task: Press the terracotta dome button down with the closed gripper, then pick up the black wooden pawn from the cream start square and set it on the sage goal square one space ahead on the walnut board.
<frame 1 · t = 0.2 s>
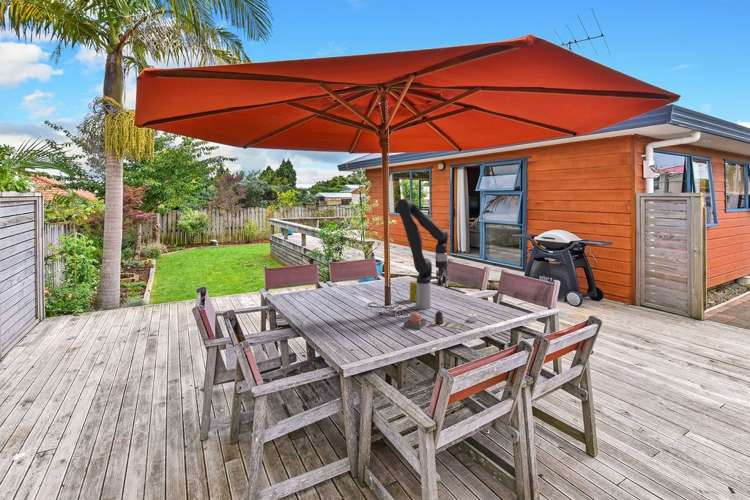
hand: (442, 284, 242), 17 cm above the table, tool pointing down, fingers open, 8 cm apart
dome collar: (415, 327, 211), on the table
dome: (415, 317, 210), point 5 cm above the table, slide at 0.0 cm
board: (446, 326, 212), on the table
pawn: (439, 323, 214), point 1 cm above the table, touching board
food: (416, 300, 270), on the table
die: (472, 322, 218), on the table
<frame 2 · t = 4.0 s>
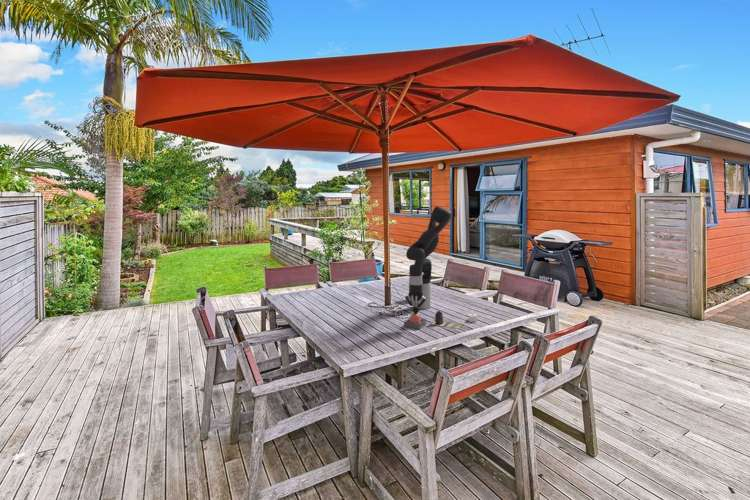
hand: (415, 313, 210), 8 cm above the table, tool pointing down, fingers closed
dome: (415, 318, 210), point 5 cm above the table, slide at 0.3 cm, touching gripper
everything else where it was.
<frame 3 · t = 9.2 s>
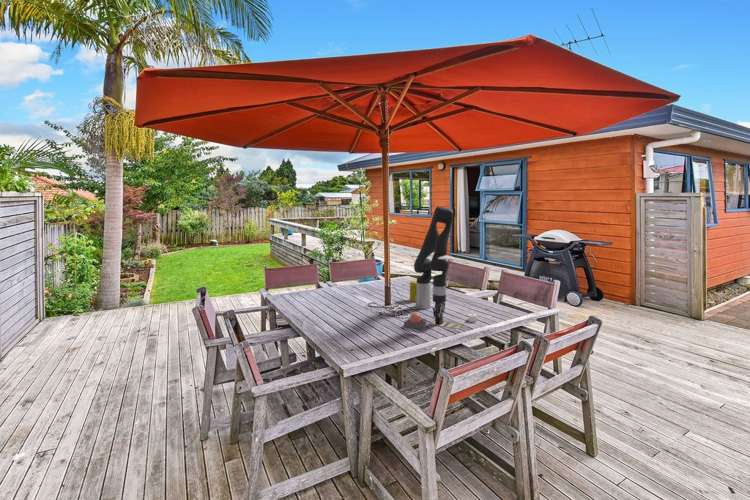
hand: (439, 322, 214), 2 cm above the table, tool pointing down, fingers closed on pawn, 4 cm apart
dome: (415, 318, 210), point 5 cm above the table, slide at 0.2 cm
pawn: (439, 323, 214), point 1 cm above the table, touching board, gripper
everything else where it was.
when the fingers open (3 cm above the table, at t = 14.2 s): pawn drops 1 cm, resting on board.
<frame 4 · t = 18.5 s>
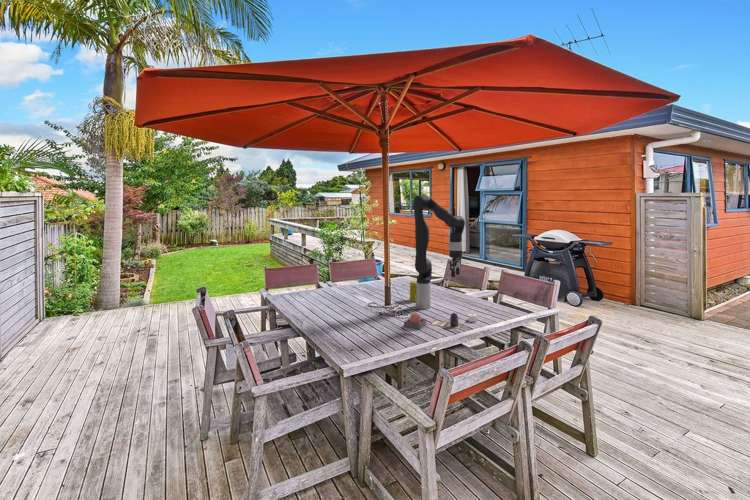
hand: (455, 275, 225), 26 cm above the table, tool pointing down, fingers open, 8 cm apart
pawn: (454, 325, 209), point 1 cm above the table, touching board
everything else where it was.
at the end: pawn 0.0 cm from the target spot, point 1.1 cm above the table; pawn tilted 1°; dome slide at 0.2 cm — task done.
